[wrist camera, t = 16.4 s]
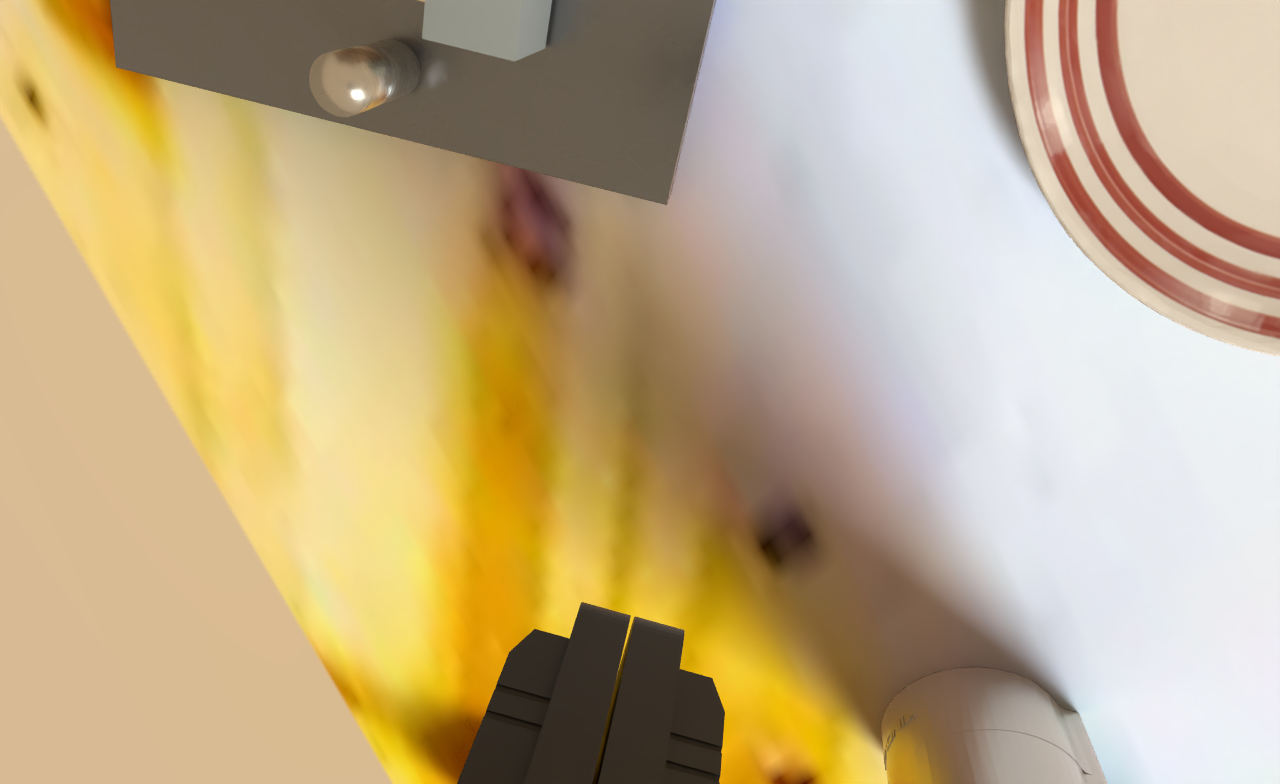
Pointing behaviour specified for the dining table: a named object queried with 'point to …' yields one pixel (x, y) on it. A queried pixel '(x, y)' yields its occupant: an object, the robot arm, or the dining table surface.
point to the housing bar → (489, 25)
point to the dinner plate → (1160, 149)
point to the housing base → (449, 77)
